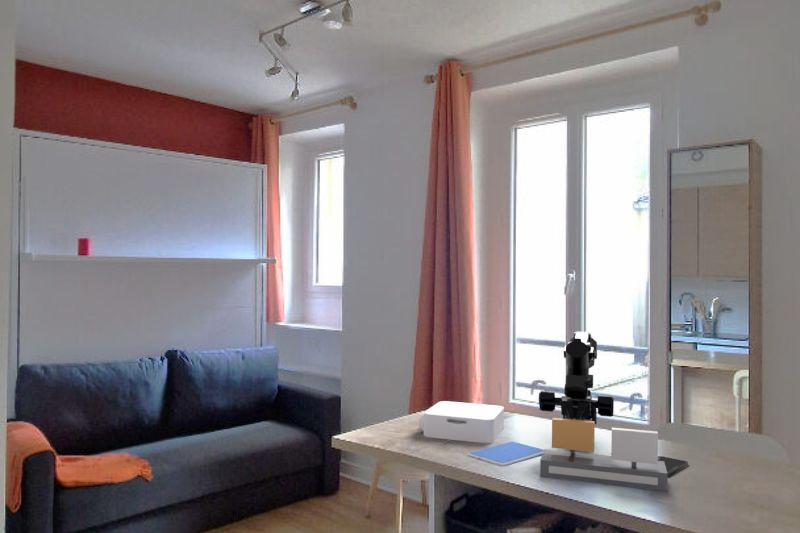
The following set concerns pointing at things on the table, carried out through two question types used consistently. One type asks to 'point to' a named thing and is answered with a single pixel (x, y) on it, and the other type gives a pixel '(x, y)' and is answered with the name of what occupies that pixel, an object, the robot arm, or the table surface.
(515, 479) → the table surface
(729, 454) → the table surface
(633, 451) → the grey toggle
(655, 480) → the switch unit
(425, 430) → the projector
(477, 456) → the tablet computer
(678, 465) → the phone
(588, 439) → the amber toggle
